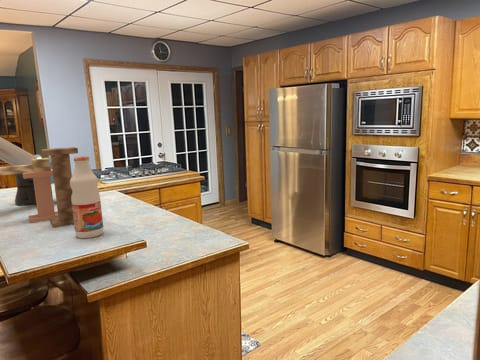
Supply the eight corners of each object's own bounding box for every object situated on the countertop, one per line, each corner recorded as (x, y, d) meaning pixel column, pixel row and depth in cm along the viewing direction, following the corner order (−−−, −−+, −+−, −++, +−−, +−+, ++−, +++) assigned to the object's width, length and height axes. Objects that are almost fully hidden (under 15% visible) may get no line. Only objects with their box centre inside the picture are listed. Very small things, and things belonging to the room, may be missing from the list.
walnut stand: (81, 217, 154) (73, 147, 149) (85, 222, 147) (77, 148, 142) (50, 222, 148) (40, 149, 143) (53, 227, 140) (43, 150, 135)
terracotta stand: (62, 213, 162) (56, 168, 158) (64, 217, 155) (59, 170, 152) (28, 219, 155) (22, 171, 151) (30, 223, 148) (23, 173, 145)
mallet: (48, 169, 156) (47, 157, 156) (50, 170, 151) (49, 159, 150) (-7, 174, 146) (-9, 162, 145) (-7, 176, 140) (-9, 163, 139)
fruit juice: (89, 229, 136) (81, 155, 131) (109, 231, 133) (101, 155, 128) (69, 237, 127) (60, 158, 123) (90, 239, 124) (81, 158, 119)
